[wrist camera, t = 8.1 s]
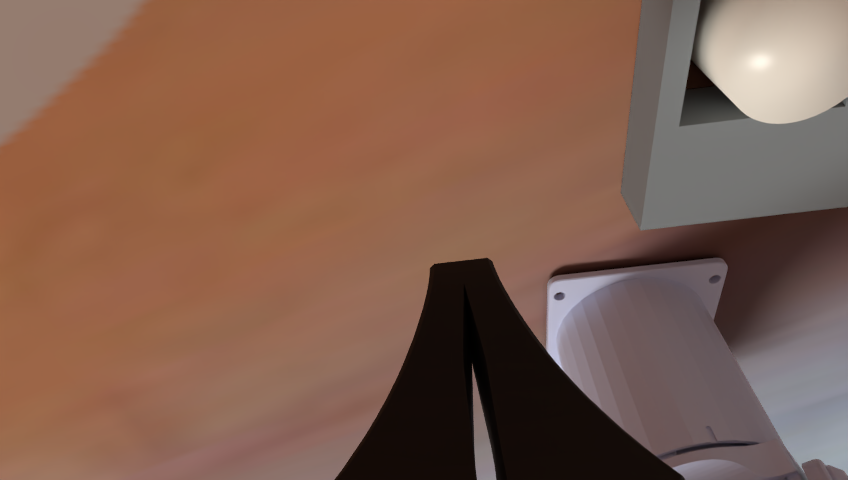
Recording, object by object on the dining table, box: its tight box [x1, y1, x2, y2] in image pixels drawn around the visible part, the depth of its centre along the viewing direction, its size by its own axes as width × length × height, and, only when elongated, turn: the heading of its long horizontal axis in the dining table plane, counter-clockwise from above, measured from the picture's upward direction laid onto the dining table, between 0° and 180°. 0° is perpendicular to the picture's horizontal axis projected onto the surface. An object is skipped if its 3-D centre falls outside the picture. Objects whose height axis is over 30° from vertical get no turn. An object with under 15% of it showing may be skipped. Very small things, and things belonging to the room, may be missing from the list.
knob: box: [691, 0, 848, 124], centre depth 18 cm, size 4×4×4 cm
